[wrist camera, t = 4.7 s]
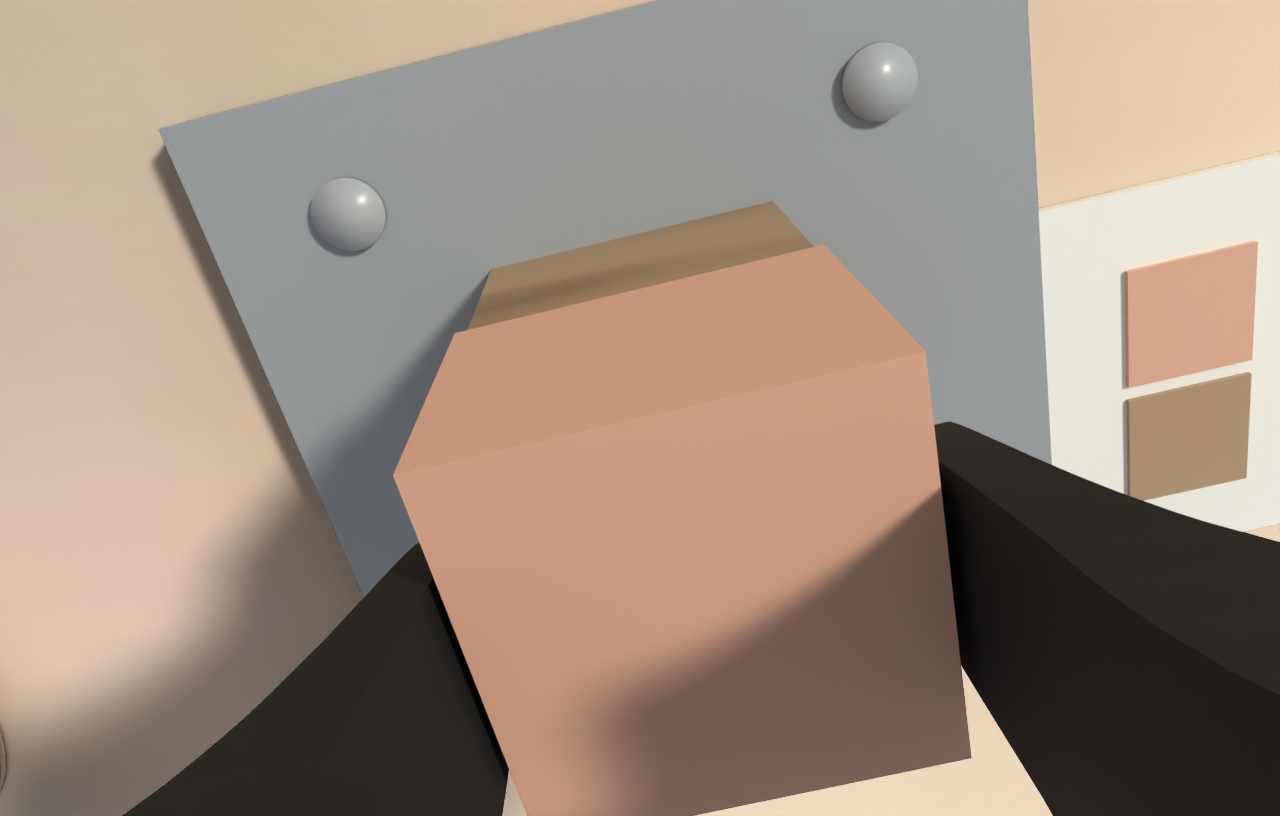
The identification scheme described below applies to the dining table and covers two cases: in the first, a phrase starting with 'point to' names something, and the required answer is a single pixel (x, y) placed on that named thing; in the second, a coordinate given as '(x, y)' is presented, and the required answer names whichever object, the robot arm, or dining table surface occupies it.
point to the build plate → (626, 201)
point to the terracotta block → (695, 541)
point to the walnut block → (637, 262)
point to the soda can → (2, 761)
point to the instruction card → (1170, 341)
